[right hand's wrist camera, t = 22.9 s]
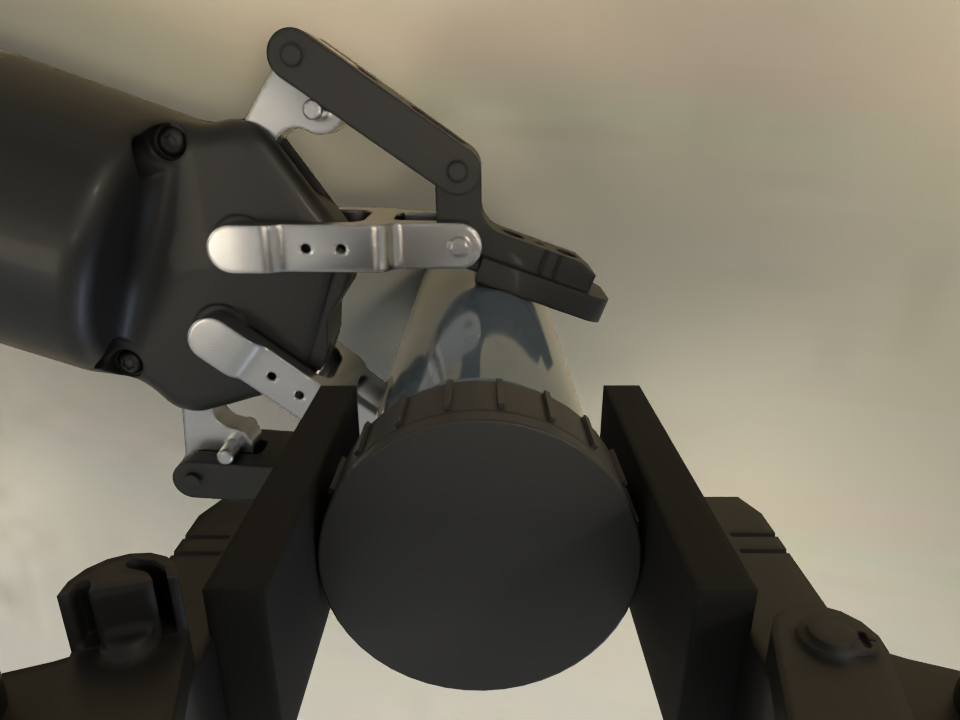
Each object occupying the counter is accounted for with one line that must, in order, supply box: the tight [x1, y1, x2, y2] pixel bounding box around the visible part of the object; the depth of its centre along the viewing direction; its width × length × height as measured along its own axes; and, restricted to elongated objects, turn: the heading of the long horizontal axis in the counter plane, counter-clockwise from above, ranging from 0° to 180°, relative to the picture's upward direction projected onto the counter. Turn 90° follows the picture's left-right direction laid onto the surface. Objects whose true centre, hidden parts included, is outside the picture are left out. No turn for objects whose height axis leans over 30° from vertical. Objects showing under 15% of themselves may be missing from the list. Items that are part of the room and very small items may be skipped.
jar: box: [374, 268, 584, 420], centre depth 19 cm, size 5×5×16 cm
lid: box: [317, 378, 642, 691], centre depth 11 cm, size 5×5×2 cm
